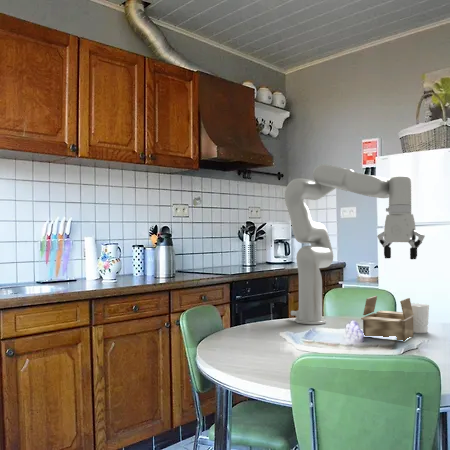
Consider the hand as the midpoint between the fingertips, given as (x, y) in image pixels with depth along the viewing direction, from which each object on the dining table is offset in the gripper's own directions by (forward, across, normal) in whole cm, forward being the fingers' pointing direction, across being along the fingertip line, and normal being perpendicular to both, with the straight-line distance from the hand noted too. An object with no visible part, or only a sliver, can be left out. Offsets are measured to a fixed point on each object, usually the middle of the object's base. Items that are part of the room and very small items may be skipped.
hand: (400, 258), depth 168 cm
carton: (+27, -2, -4) cm, 28 cm away
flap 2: (+20, +5, -3) cm, 21 cm away
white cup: (+28, 0, +14) cm, 31 cm away
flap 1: (+20, -9, -6) cm, 23 cm away
